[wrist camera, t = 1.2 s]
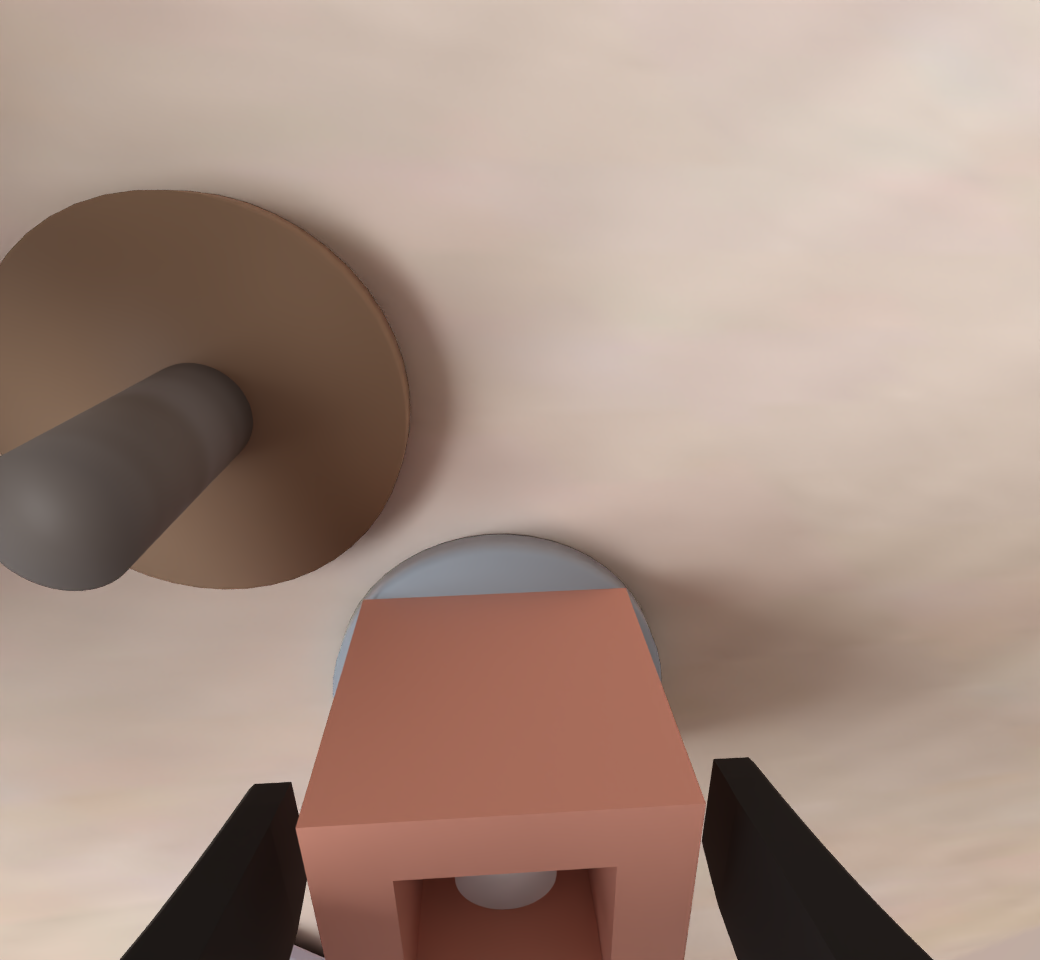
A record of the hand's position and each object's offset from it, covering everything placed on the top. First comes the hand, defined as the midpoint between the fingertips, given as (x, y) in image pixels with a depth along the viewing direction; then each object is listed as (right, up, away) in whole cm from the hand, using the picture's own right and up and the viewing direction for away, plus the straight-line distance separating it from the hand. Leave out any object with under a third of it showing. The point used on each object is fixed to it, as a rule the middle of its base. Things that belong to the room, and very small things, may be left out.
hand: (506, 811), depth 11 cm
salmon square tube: (0, +1, +3) cm, 3 cm away
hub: (-5, +7, +1) cm, 9 cm away
